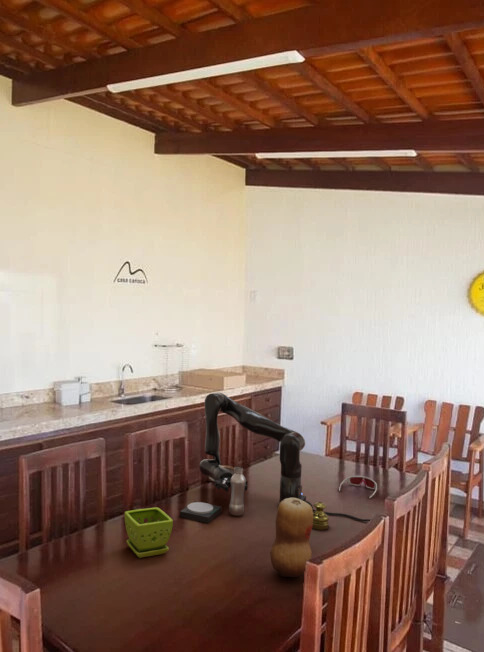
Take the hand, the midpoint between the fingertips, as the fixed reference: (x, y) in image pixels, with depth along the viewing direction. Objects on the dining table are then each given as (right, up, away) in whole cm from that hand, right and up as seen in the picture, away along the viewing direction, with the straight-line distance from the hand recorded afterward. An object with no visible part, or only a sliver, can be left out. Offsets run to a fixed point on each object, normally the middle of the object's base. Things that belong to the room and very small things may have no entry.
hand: (237, 488), depth 229 cm
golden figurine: (+33, -13, -10) cm, 36 cm away
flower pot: (-35, -10, -38) cm, 53 cm away
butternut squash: (+14, -13, -52) cm, 55 cm away
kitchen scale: (-16, -10, -2) cm, 19 cm away
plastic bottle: (0, -11, 0) cm, 11 cm away
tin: (-5, -10, +43) cm, 45 cm away
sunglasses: (+64, -13, +39) cm, 76 cm away
